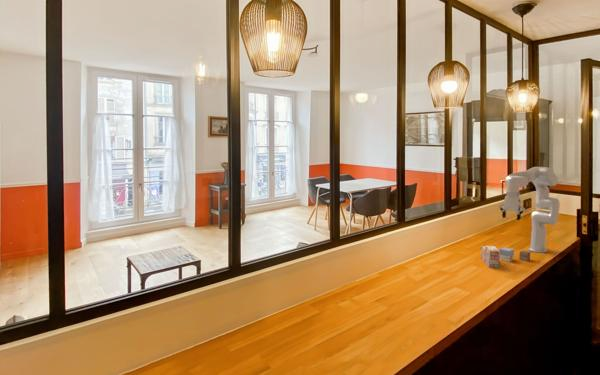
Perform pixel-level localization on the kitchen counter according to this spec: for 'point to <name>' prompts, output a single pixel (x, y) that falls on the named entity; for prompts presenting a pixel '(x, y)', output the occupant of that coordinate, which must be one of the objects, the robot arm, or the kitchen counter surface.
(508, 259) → the tower base
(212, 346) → the kitchen counter surface
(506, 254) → the tower top
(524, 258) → the walnut block
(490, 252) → the stack of blocks
